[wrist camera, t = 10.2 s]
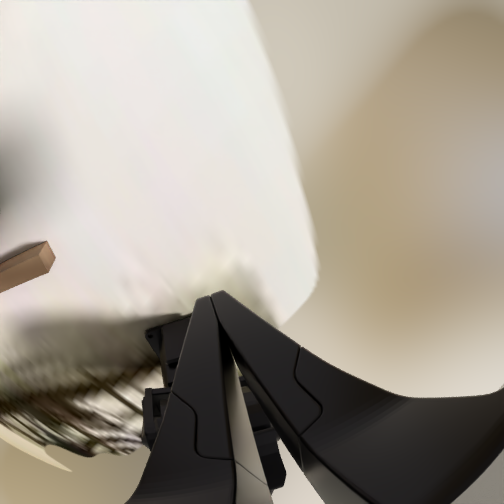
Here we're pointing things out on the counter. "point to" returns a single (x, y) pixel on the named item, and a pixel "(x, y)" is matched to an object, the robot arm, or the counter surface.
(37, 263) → the wooden u-shaped frame
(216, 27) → the counter surface
